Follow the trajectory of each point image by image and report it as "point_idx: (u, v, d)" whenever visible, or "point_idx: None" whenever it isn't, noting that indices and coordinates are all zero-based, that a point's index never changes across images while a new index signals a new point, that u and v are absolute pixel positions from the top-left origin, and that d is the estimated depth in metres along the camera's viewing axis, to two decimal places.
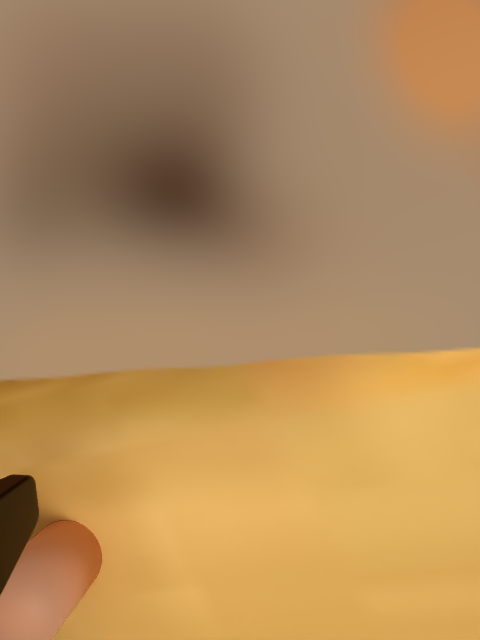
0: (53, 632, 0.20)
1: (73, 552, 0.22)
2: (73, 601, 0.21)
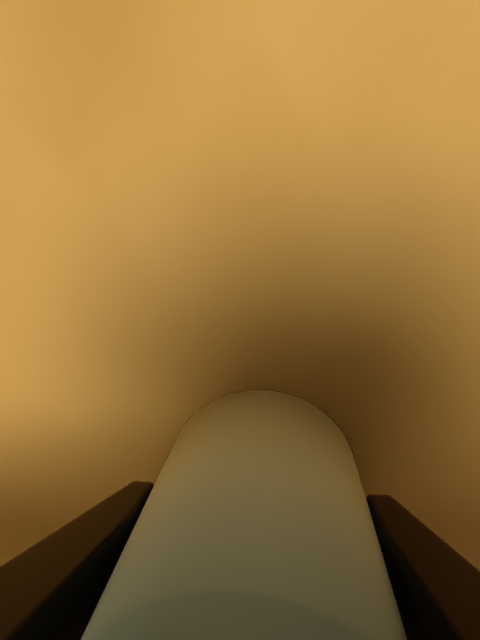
0: None
1: None
2: None
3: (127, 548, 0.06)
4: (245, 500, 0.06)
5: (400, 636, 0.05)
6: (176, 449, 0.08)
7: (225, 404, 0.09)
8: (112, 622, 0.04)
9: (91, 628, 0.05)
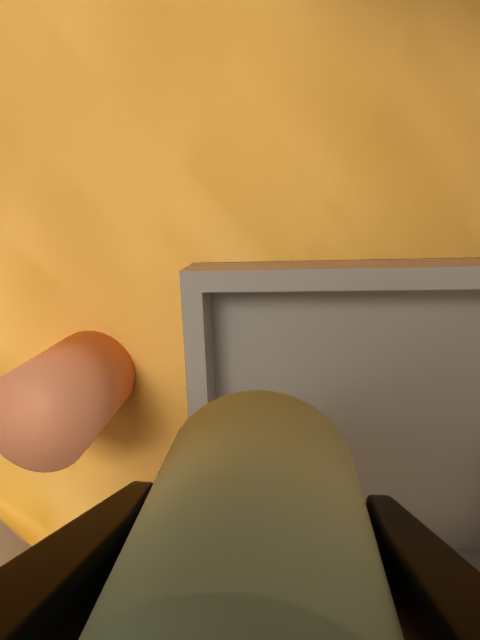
0: (9, 373, 0.16)
1: None
2: (29, 360, 0.17)
3: (125, 549, 0.06)
4: (243, 500, 0.06)
5: (397, 637, 0.05)
6: (174, 449, 0.08)
7: (224, 405, 0.09)
8: (109, 623, 0.04)
9: (88, 629, 0.05)
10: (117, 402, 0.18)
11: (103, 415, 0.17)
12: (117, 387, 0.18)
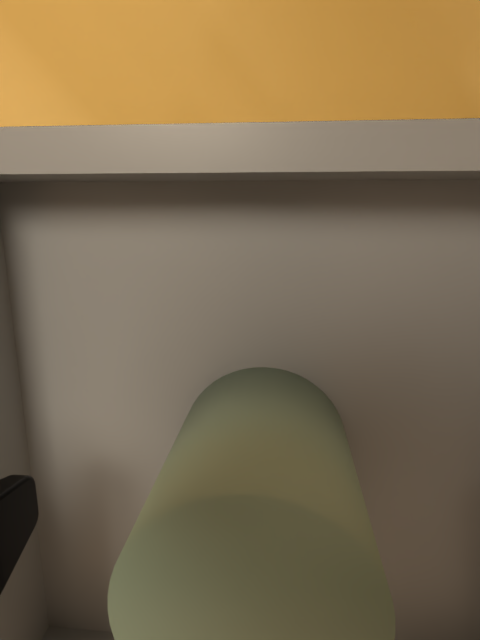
0: None
1: None
2: None
3: (157, 482, 0.07)
4: (251, 441, 0.07)
5: (370, 538, 0.06)
6: (192, 414, 0.10)
7: (233, 379, 0.10)
8: (152, 522, 0.06)
9: (135, 530, 0.06)
10: None
11: None
12: None
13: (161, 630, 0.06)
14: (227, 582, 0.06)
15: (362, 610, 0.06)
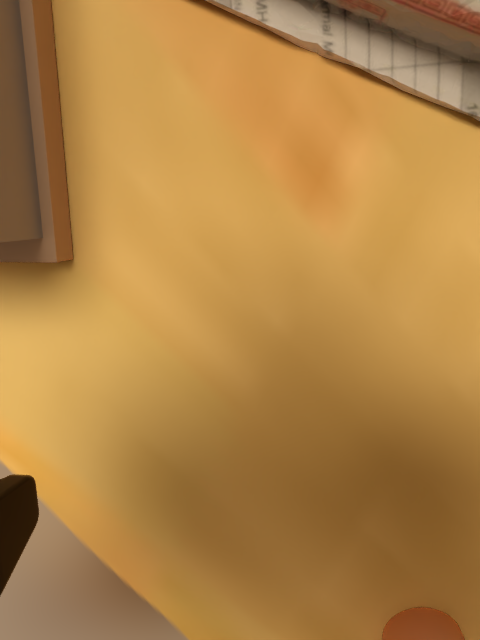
0: None
1: None
2: None
3: None
4: None
5: None
6: None
7: None
8: None
9: None
10: None
11: None
12: None
13: None
14: None
15: None
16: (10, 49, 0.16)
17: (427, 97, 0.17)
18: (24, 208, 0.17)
